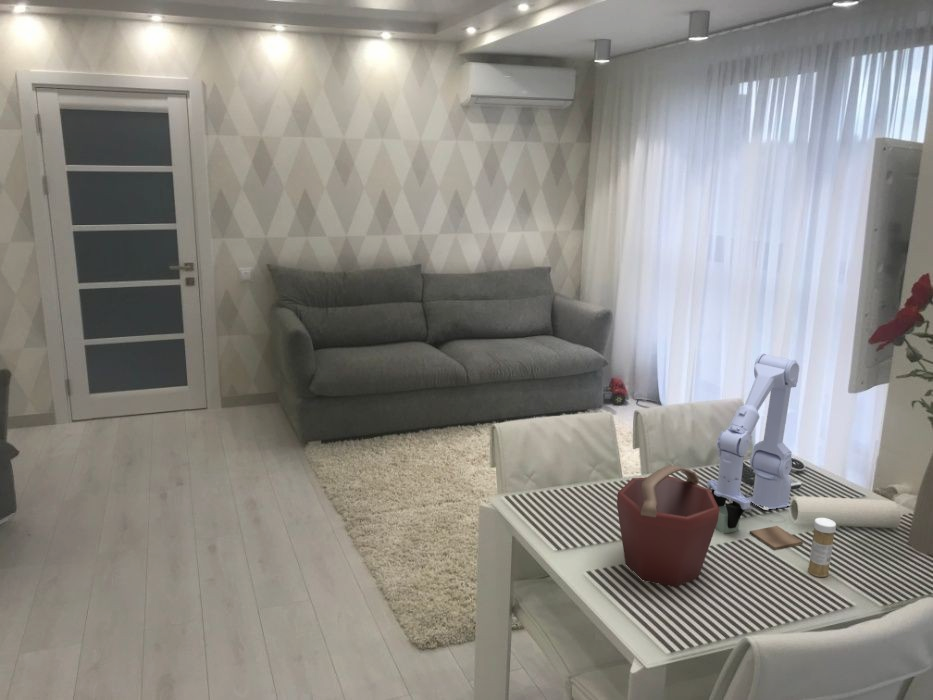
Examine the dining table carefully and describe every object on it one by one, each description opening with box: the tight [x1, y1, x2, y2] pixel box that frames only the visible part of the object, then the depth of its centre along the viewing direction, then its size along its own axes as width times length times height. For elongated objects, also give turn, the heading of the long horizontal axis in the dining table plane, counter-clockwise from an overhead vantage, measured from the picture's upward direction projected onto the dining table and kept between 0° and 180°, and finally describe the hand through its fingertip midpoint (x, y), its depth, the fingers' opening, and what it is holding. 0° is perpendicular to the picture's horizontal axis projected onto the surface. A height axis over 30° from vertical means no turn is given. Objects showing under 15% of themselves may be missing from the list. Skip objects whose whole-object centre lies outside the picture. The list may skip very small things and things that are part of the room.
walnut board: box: [749, 525, 804, 551], centre depth 192 cm, size 9×9×1 cm
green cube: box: [715, 504, 741, 534], centre depth 197 cm, size 5×5×5 cm
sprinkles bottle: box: [807, 517, 837, 578], centre depth 174 cm, size 5×5×13 cm
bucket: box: [616, 464, 719, 588], centre depth 175 cm, size 24×22×25 cm
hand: (724, 522), depth 197 cm, fingers closed on green cube, 5 cm apart
